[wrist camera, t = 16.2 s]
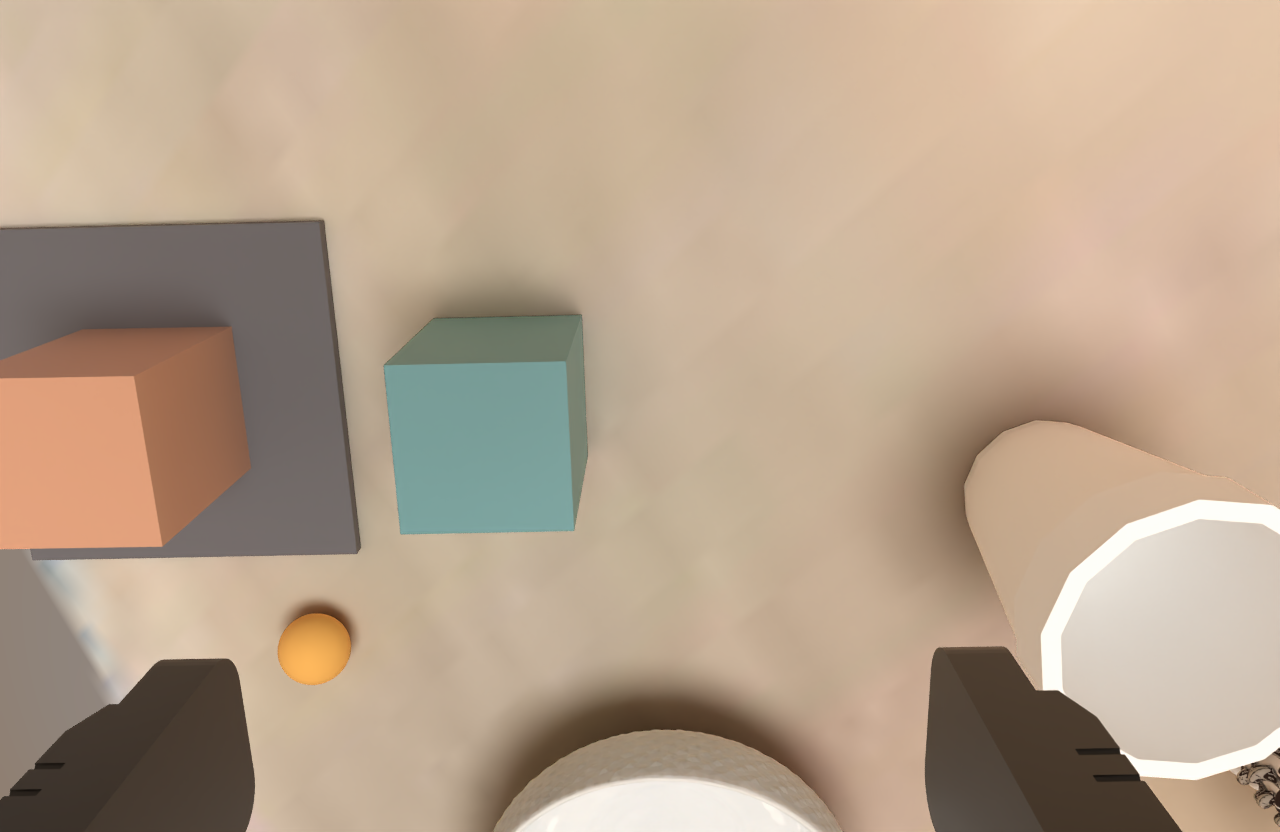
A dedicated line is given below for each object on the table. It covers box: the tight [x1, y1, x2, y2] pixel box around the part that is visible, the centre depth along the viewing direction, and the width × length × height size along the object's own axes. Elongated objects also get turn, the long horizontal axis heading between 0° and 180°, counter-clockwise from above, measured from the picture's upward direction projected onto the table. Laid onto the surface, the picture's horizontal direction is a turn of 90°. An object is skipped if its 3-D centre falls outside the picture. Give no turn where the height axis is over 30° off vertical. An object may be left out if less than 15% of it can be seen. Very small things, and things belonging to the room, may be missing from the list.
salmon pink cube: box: [0, 327, 251, 549], centre depth 38 cm, size 6×6×8 cm
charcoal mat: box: [0, 221, 361, 560], centre depth 42 cm, size 14×14×1 cm
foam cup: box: [964, 420, 1280, 780], centre depth 37 cm, size 10×9×13 cm
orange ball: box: [278, 613, 351, 685], centre depth 44 cm, size 3×3×3 cm
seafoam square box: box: [384, 315, 588, 534], centre depth 38 cm, size 6×6×8 cm
